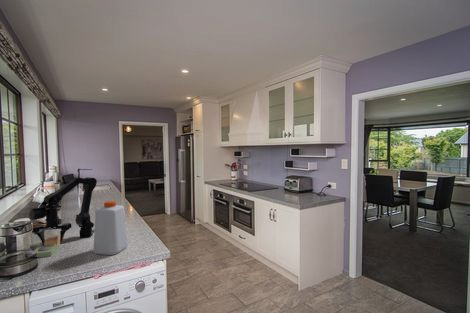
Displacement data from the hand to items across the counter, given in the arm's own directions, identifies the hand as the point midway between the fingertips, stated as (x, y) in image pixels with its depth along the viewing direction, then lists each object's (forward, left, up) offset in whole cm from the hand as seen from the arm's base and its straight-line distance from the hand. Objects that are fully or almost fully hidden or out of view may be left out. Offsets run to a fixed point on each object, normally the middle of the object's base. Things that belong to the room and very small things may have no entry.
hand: (52, 241), depth 153 cm
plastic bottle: (-35, +15, -3) cm, 38 cm away
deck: (+2, +5, -3) cm, 6 cm away
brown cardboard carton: (0, 0, -3) cm, 3 cm away
